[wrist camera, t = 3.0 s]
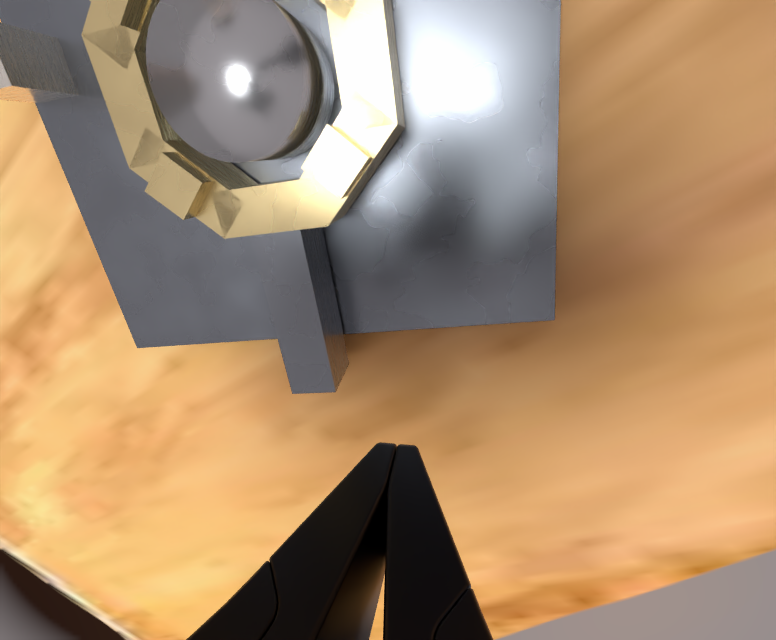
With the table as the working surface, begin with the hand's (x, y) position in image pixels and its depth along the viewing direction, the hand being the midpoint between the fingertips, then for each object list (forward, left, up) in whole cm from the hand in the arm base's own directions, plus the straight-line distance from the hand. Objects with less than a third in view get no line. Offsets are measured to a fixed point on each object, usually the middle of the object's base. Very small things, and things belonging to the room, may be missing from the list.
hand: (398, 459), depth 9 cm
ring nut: (+5, -5, -10) cm, 13 cm away
